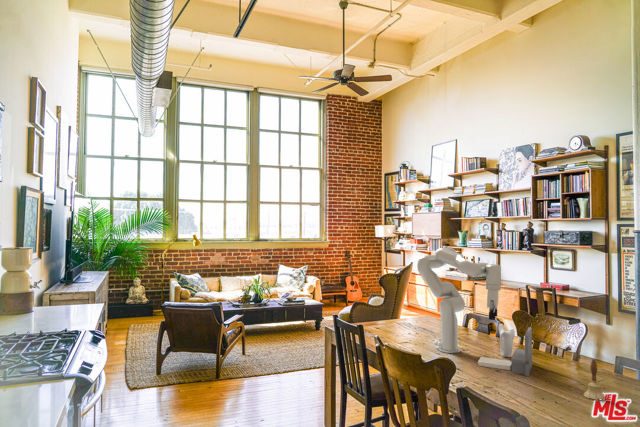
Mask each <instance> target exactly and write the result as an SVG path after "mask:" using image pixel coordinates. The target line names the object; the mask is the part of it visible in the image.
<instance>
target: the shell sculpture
mask: <svg viewBox="0 0 640 427" xmlns="http://www.w3.org/2000/svg"><path fill="white" fill-rule="evenodd" d="M498 333H499V348H500V355H501V356H502V357H504V358H511V357H512V355H513V347H514V346H513V345H514V340H515V336H516V332H515V329H514V328H513V329H510V330H509V329H507V328H506V326H505V325H504V324H503V323H499V324H498Z"/></svg>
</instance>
